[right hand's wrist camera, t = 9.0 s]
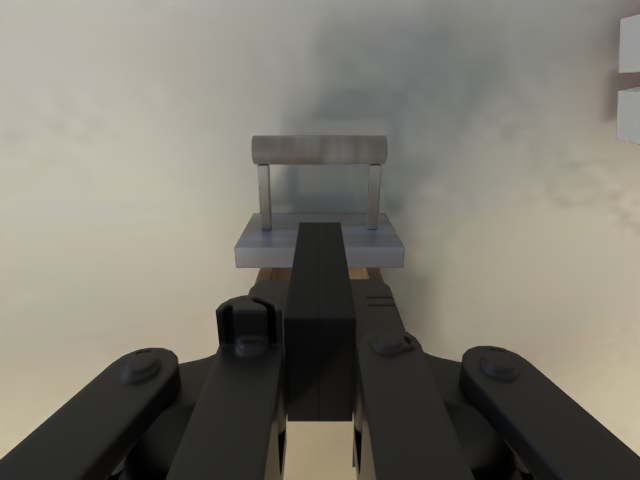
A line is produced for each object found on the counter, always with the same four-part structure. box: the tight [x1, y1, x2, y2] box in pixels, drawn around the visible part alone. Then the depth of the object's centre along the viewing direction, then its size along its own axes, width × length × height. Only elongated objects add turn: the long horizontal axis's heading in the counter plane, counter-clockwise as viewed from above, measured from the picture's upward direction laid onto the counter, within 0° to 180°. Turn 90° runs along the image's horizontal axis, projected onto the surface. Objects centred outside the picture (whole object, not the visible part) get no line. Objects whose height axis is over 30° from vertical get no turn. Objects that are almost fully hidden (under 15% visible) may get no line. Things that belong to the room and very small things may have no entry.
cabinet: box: [283, 418, 357, 480], centre depth 30 cm, size 21×10×8 cm, turn 0°
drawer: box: [235, 136, 404, 285], centre depth 26 cm, size 25×9×6 cm, turn 0°
